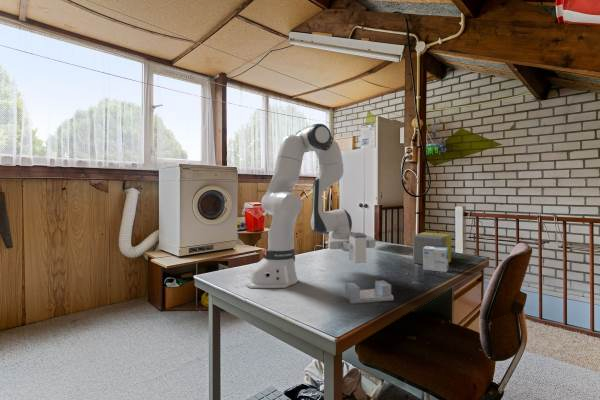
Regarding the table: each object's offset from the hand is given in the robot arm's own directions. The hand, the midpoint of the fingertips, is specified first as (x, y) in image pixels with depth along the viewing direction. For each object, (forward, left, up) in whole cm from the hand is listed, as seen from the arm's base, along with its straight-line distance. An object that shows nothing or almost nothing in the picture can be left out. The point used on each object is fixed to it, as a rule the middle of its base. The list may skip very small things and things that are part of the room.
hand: (358, 246), depth 124 cm
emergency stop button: (+57, +32, -17) cm, 68 cm away
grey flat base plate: (-1, -12, -17) cm, 20 cm away
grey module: (0, +1, -6) cm, 6 cm away
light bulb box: (+47, +17, -17) cm, 53 cm away
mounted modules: (-1, -12, -15) cm, 19 cm away
